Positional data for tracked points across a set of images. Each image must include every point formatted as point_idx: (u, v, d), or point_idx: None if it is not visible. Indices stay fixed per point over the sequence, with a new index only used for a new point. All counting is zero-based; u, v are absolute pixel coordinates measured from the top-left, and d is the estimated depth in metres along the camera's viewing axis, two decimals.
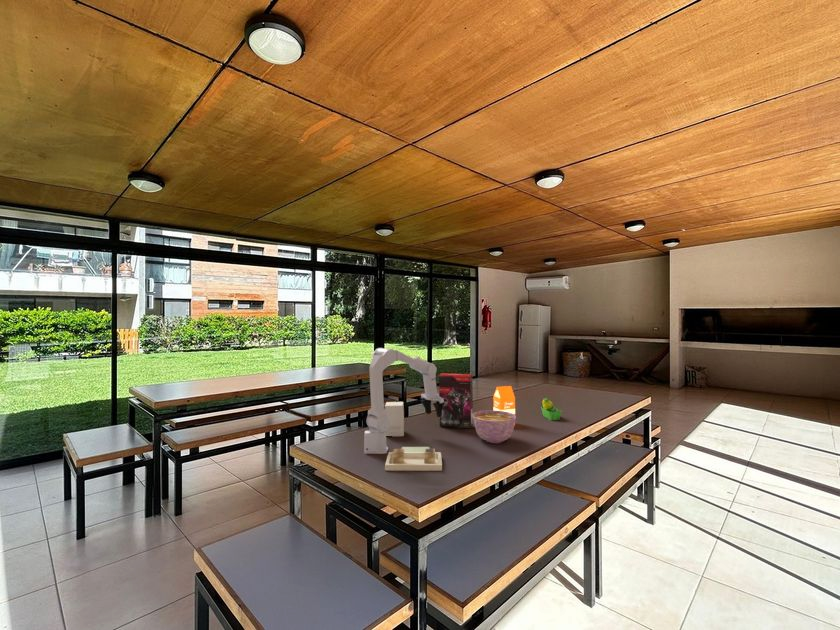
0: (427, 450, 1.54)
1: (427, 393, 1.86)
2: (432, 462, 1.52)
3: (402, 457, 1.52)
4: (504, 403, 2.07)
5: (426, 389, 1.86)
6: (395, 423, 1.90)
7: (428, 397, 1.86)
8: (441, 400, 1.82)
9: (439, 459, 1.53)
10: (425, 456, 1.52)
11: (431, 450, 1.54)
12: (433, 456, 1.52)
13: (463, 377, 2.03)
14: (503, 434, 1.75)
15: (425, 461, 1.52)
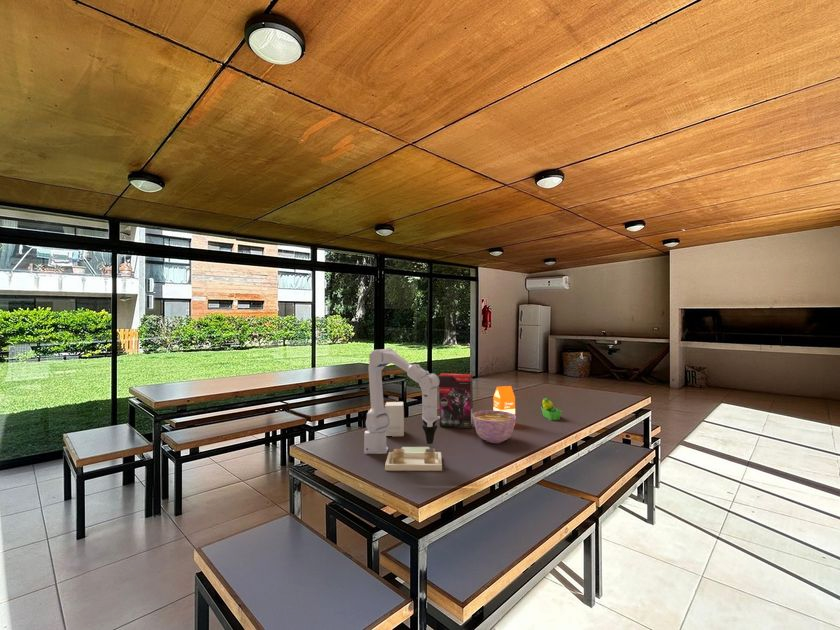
0: (427, 450, 1.54)
1: (422, 411, 1.54)
2: (432, 462, 1.52)
3: (402, 457, 1.52)
4: (504, 403, 2.07)
5: (422, 406, 1.54)
6: (395, 423, 1.90)
7: (422, 416, 1.53)
8: (428, 423, 1.47)
9: (439, 459, 1.53)
10: (425, 456, 1.52)
11: (431, 450, 1.54)
12: (433, 456, 1.52)
13: (463, 377, 2.03)
14: (503, 434, 1.75)
15: (425, 461, 1.52)
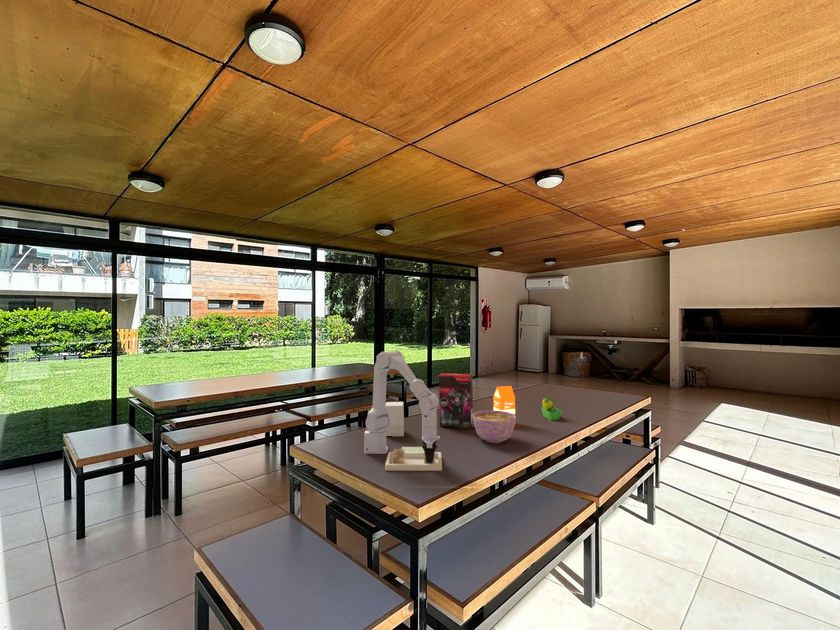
0: None
1: (422, 431, 1.54)
2: (432, 462, 1.52)
3: (402, 457, 1.52)
4: (504, 403, 2.07)
5: (422, 426, 1.54)
6: (395, 423, 1.90)
7: (422, 436, 1.53)
8: (428, 444, 1.47)
9: (439, 459, 1.53)
10: (425, 456, 1.52)
11: None
12: None
13: (463, 377, 2.03)
14: (503, 434, 1.75)
15: (425, 461, 1.52)
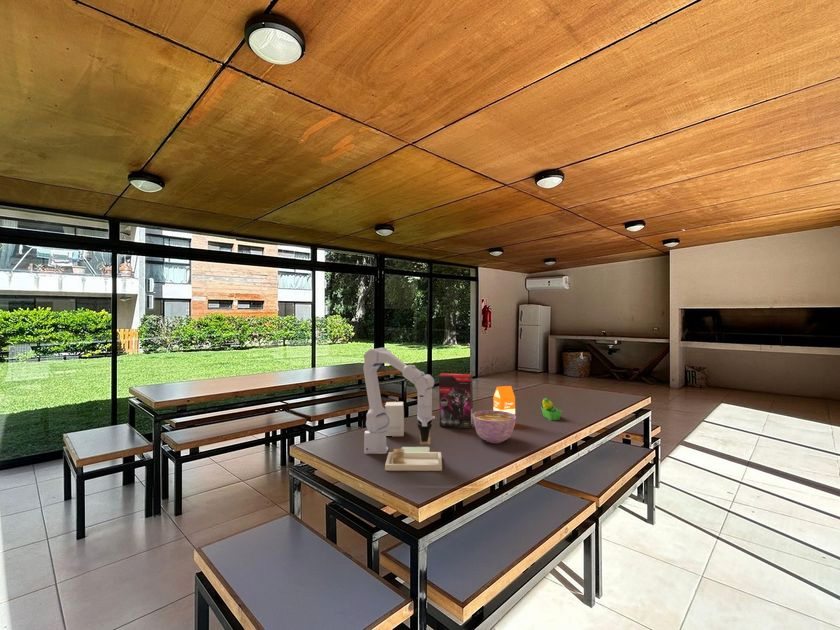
0: None
1: None
2: (427, 441, 1.56)
3: (402, 457, 1.52)
4: (504, 403, 2.07)
5: None
6: (395, 423, 1.90)
7: (417, 416, 1.57)
8: (423, 423, 1.51)
9: (439, 459, 1.53)
10: (420, 435, 1.56)
11: None
12: None
13: (463, 377, 2.03)
14: (503, 434, 1.75)
15: (420, 440, 1.56)
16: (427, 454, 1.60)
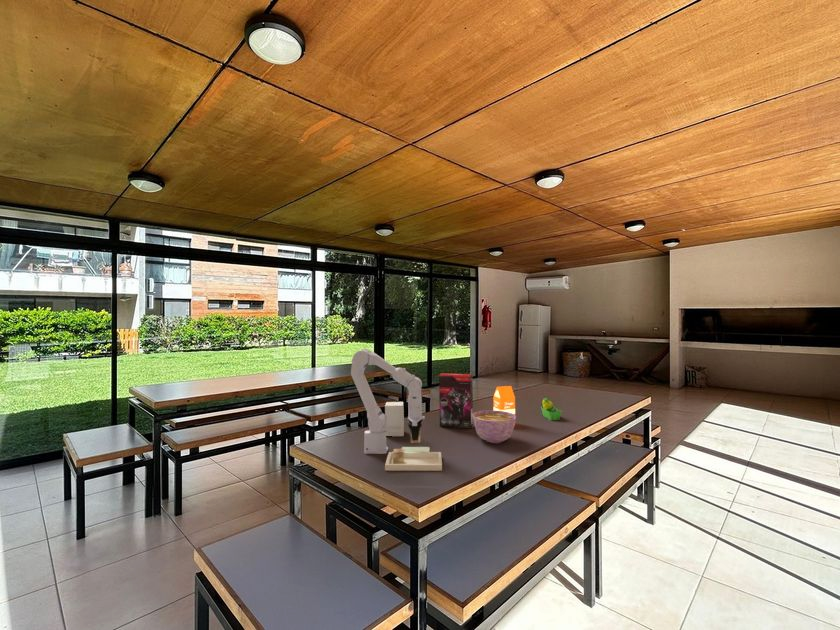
0: None
1: (408, 411, 1.68)
2: (418, 440, 1.66)
3: (402, 457, 1.52)
4: (504, 403, 2.07)
5: (408, 407, 1.68)
6: (395, 423, 1.90)
7: (408, 416, 1.67)
8: (413, 423, 1.61)
9: (439, 459, 1.53)
10: None
11: None
12: (419, 434, 1.66)
13: (463, 377, 2.03)
14: (503, 434, 1.75)
15: (411, 439, 1.66)
16: (427, 454, 1.60)
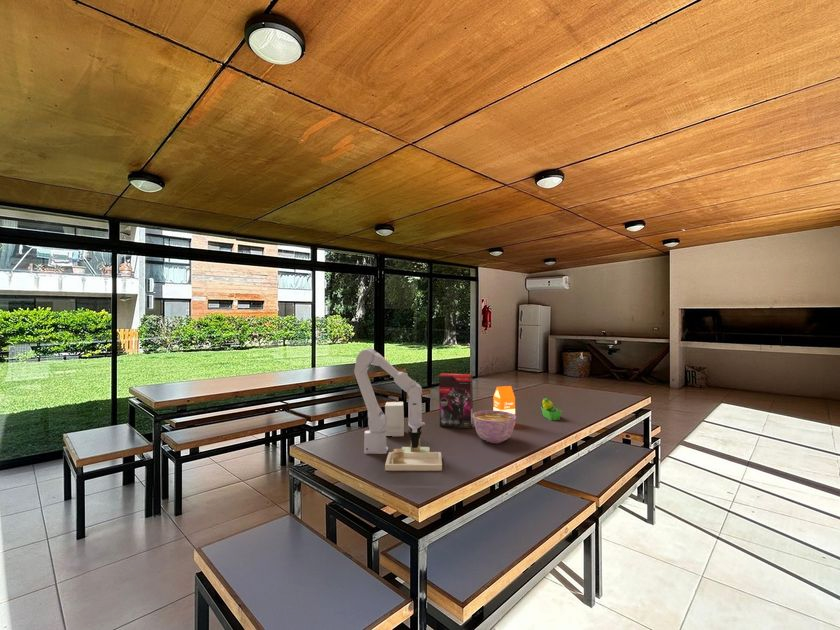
0: None
1: (408, 417, 1.68)
2: (418, 449, 1.66)
3: (402, 457, 1.52)
4: (504, 403, 2.07)
5: (408, 413, 1.68)
6: (395, 423, 1.90)
7: None
8: (413, 429, 1.61)
9: (439, 459, 1.53)
10: (411, 444, 1.66)
11: None
12: (419, 444, 1.66)
13: (463, 377, 2.03)
14: (503, 433, 1.75)
15: (411, 448, 1.66)
16: (427, 454, 1.60)
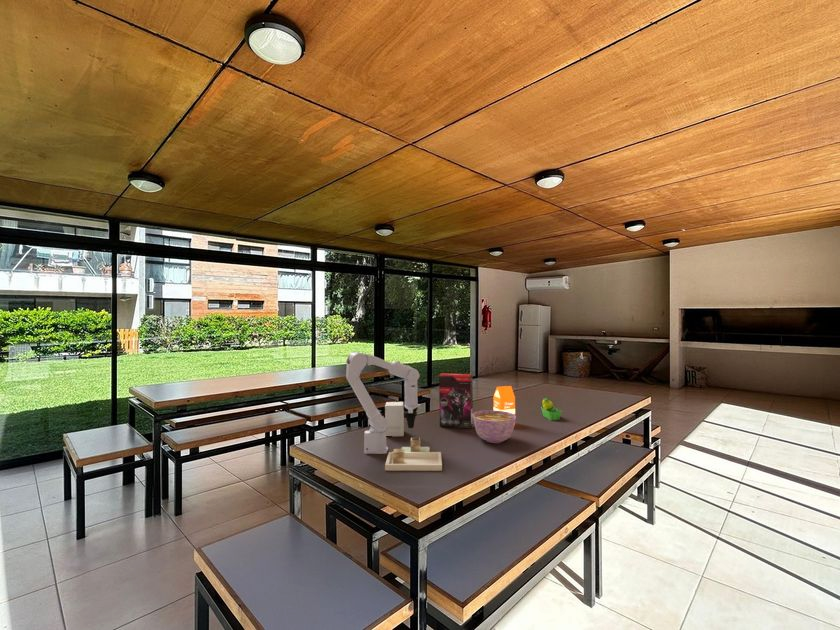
0: (413, 438, 1.68)
1: None
2: (418, 449, 1.66)
3: (402, 457, 1.52)
4: (504, 403, 2.07)
5: None
6: (395, 423, 1.90)
7: None
8: (409, 410, 1.68)
9: (439, 459, 1.53)
10: (411, 444, 1.66)
11: (417, 438, 1.68)
12: (419, 444, 1.66)
13: (463, 377, 2.03)
14: (503, 434, 1.75)
15: (411, 448, 1.66)
16: (427, 454, 1.60)
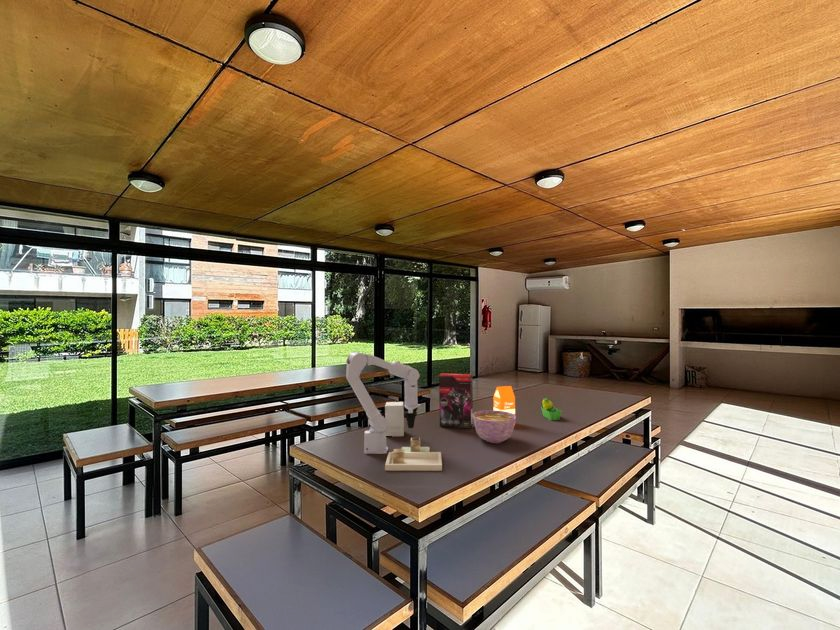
0: (413, 438, 1.68)
1: None
2: (418, 449, 1.66)
3: (402, 457, 1.52)
4: (504, 403, 2.07)
5: None
6: (395, 423, 1.90)
7: None
8: (409, 410, 1.68)
9: (439, 459, 1.53)
10: (411, 444, 1.66)
11: (417, 438, 1.68)
12: (419, 444, 1.66)
13: (463, 377, 2.03)
14: (503, 434, 1.75)
15: (411, 448, 1.66)
16: (427, 454, 1.60)
